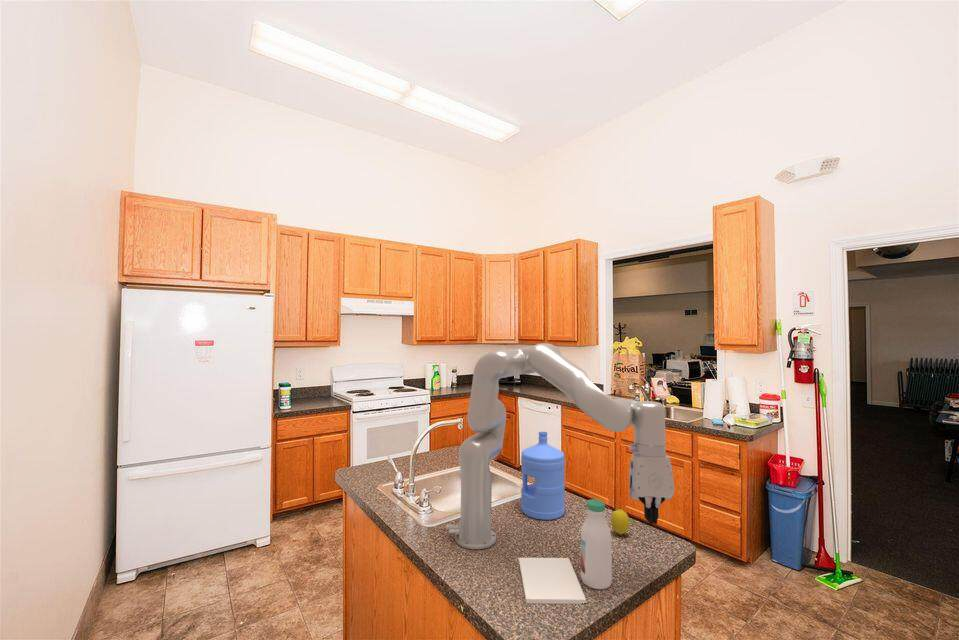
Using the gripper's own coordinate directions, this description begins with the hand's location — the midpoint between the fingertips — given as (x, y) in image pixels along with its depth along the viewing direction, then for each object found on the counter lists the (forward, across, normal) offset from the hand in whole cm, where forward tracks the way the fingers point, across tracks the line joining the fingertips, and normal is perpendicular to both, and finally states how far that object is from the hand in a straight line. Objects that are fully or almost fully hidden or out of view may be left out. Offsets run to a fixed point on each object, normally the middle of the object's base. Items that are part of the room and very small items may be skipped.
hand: (651, 521), depth 105 cm
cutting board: (+15, -26, 0) cm, 30 cm away
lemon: (+15, 0, +25) cm, 29 cm away
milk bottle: (+15, -14, 0) cm, 21 cm away
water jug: (+15, -22, +42) cm, 50 cm away
